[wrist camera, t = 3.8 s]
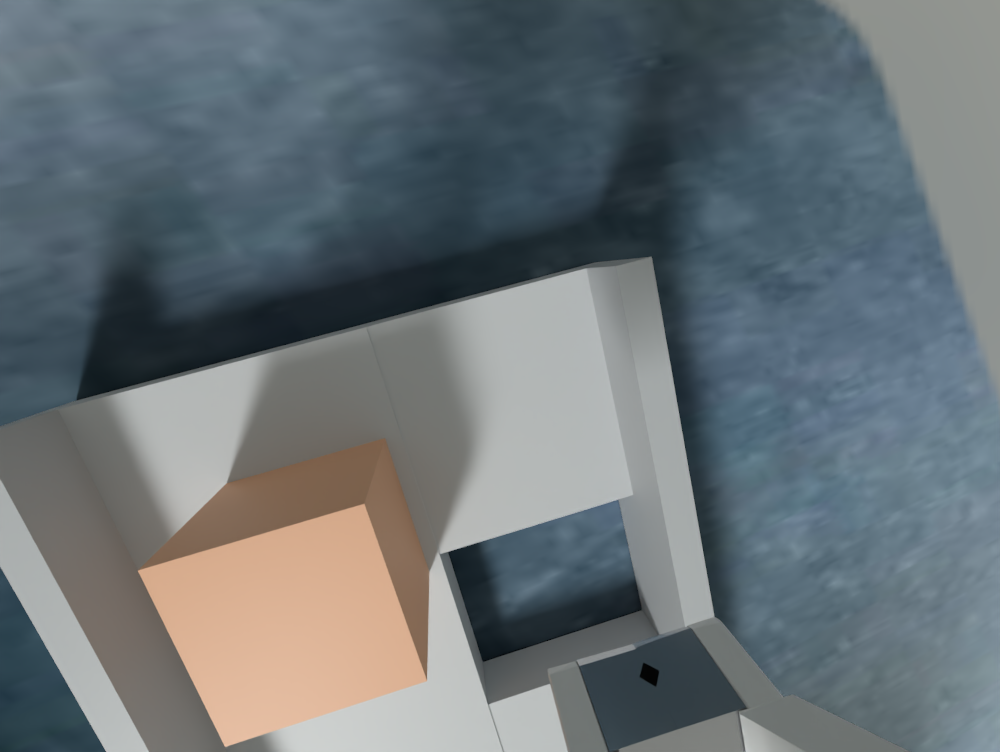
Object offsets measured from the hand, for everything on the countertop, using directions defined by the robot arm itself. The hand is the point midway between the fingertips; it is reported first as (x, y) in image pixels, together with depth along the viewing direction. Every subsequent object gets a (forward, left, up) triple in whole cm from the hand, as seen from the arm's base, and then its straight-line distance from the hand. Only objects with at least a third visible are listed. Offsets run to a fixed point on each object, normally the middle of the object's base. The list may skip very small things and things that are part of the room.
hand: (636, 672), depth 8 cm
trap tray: (+9, -5, -10) cm, 14 cm away
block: (0, -7, -8) cm, 11 cm away
